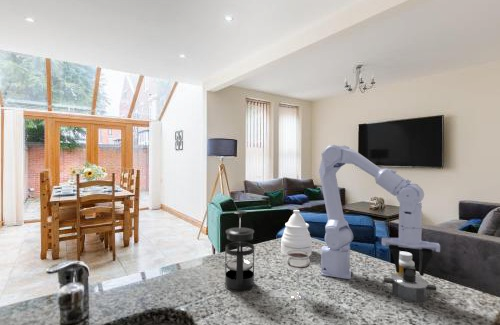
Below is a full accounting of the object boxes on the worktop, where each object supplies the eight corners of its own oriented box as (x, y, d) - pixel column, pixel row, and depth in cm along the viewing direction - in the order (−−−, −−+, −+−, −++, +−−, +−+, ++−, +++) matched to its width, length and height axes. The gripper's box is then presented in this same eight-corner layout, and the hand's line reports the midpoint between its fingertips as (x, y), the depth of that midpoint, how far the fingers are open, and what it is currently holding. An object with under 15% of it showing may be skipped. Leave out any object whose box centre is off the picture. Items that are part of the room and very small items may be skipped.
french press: (225, 277, 91) (225, 208, 91) (253, 277, 91) (254, 208, 91) (223, 295, 79) (223, 215, 79) (255, 294, 80) (256, 215, 79)
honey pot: (311, 258, 108) (312, 213, 108) (279, 255, 111) (279, 211, 111) (312, 248, 121) (312, 207, 121) (282, 245, 124) (283, 206, 124)
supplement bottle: (417, 288, 84) (417, 256, 84) (398, 286, 85) (398, 255, 85) (410, 280, 89) (411, 251, 89) (392, 279, 91) (393, 249, 90)
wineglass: (290, 287, 84) (290, 248, 84) (312, 292, 81) (312, 252, 81) (282, 297, 78) (283, 255, 78) (306, 303, 75) (306, 259, 75)
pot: (384, 297, 78) (385, 283, 78) (382, 284, 86) (382, 272, 86) (439, 307, 74) (439, 292, 73) (431, 292, 82) (431, 279, 81)
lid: (393, 285, 77) (393, 271, 77) (390, 273, 85) (390, 260, 85) (431, 291, 74) (431, 276, 74) (423, 278, 82) (424, 264, 82)
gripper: (383, 226, 78) (382, 274, 79) (443, 232, 73) (442, 282, 73) (381, 221, 85) (380, 265, 85) (436, 226, 80) (435, 272, 80)
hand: (409, 272), depth 80 cm, fingers open, 5 cm apart
